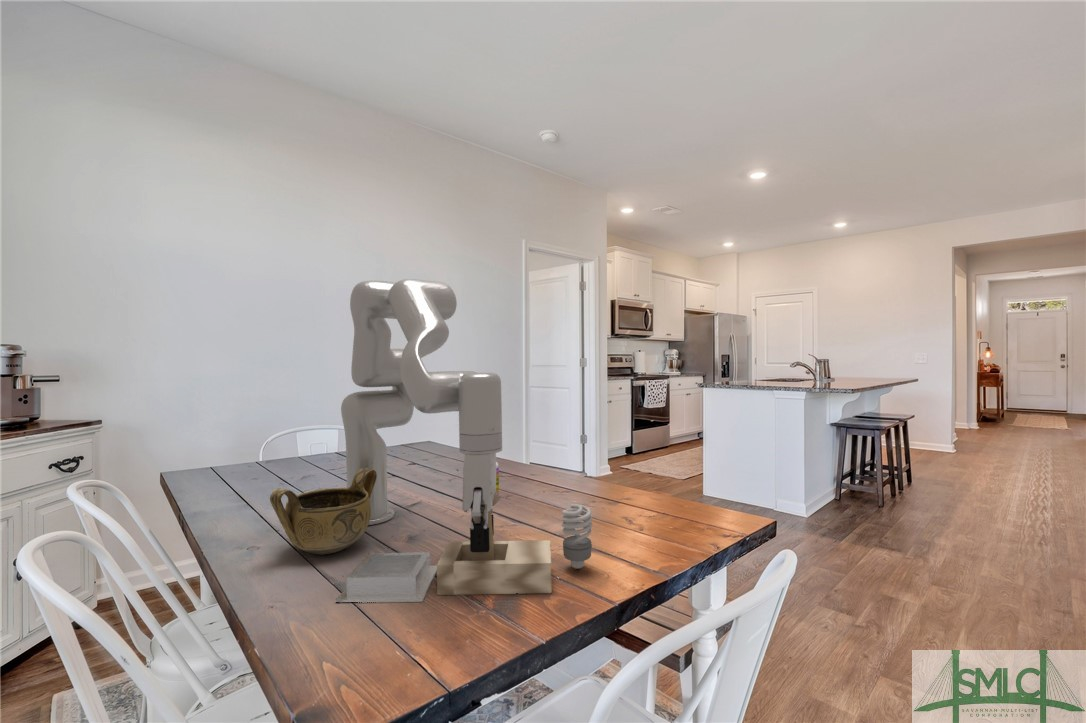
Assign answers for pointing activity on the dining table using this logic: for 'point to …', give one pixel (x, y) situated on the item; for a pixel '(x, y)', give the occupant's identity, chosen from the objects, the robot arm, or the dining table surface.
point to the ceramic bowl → (327, 514)
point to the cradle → (390, 578)
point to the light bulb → (577, 535)
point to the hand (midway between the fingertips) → (482, 542)
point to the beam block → (496, 569)
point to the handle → (489, 555)
